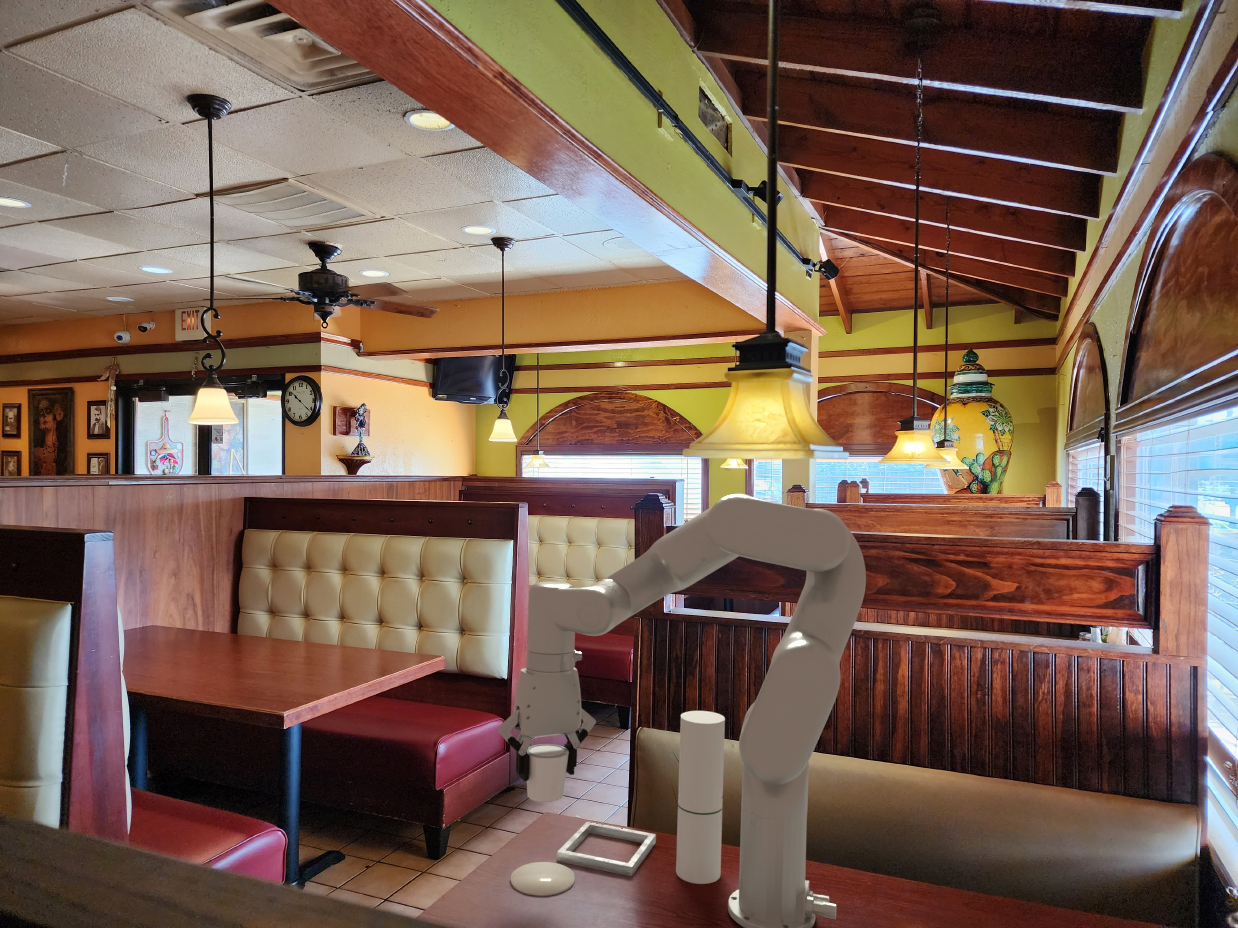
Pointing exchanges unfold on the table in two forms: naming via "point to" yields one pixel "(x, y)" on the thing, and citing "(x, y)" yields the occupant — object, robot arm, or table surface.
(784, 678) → the robot arm
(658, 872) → the table surface
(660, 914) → the table surface
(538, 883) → the cream flat disc
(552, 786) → the white cup
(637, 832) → the holder collar
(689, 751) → the cylindrical container
